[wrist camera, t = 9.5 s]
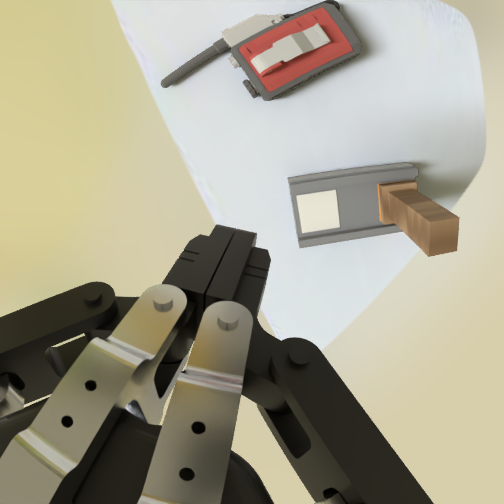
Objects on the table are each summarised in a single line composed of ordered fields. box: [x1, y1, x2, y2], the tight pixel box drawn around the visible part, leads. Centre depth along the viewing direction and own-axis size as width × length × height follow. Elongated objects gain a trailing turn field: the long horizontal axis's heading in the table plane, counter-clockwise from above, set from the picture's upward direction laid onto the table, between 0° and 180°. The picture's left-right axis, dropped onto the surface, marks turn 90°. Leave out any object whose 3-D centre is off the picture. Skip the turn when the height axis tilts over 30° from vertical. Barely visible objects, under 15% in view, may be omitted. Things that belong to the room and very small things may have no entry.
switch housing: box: [288, 163, 418, 248], centre depth 30 cm, size 7×14×3 cm, turn 101°
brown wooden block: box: [379, 180, 459, 256], centre depth 24 cm, size 4×4×10 cm
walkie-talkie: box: [161, 0, 362, 101], centre depth 24 cm, size 9×4×20 cm
